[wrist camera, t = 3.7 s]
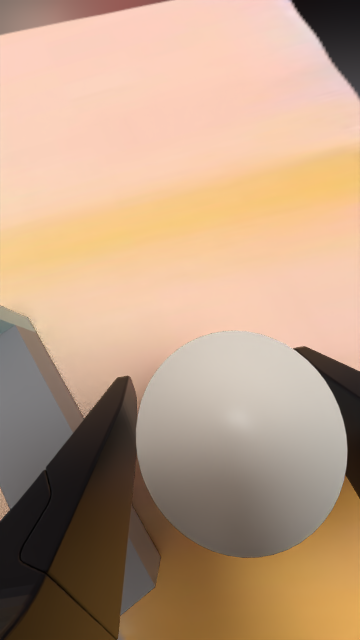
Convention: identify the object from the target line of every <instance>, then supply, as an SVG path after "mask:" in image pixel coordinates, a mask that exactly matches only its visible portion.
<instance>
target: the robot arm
mask: <svg viewBox="0 0 360 640" xmlns="http://www.w3.org/2000/svg"><path fill="white" fill-rule="evenodd" d="M293 349H294V350H295V351H297V352H298V353H299V354H300V355H301V356H303V357H304V358H305V359H306V360H307V361H308V362H309V363H310V364H311V365H312V366H313V367H314V368H315V369H316V370H317V371H318V372H319V374H320V375H321V376H322V377H323V379H324V380H325V381H326V383H327V385H328V386H329V388H330V390H331V391H332V393H333V395H334V397H335V399H336V402H337V404H338V406H339V409H340V412H341V415H342V418H343V421H344V426H345V432H346V438H347V466H346V472H345V475H346V476H347V478H348V480H349V481H350V483H351V485H352V486H353V488H354V490H355V491H356V493H357V495H358V496H359V498H360V371H358V370H355V369H353V368H351V367H349V366H347V365H345V364H342V363H340V362H338V361H336V360H334V359H332V358H329V357H327V356H325V355H323V354H321V353H319V352H316V351H314V350H312V349H310V348H308V347H305V346H303V347H297V348H293ZM136 425H137V397H136V392H135V389H134V386H133V383H132V380H131V378H130V376H123V377H118V378H117V379H116V380H115V381H114V382H113V384H112V385H111V386H110V387H109V389H108V390H107V391H106V392H105V394H104V395H103V396H102V397H101V399H100V400H99V401H98V402H97V404H96V405H95V406H94V407H93V409H92V410H91V411H90V412H89V414H88V415H87V416H86V417H85V419H84V420H83V421H82V422H81V424H80V425H79V426H78V427H77V429H76V430H75V431H74V432H73V434H72V435H71V436H70V437H69V439H68V440H67V441H66V442H65V444H64V445H63V446H62V447H61V449H60V450H59V451H58V452H57V454H56V455H55V456H54V457H53V459H52V460H51V461H50V462H49V464H48V465H47V466H46V468H45V469H46V470H43V471H42V472H41V473H40V475H39V476H38V477H37V478H36V480H35V481H34V482H33V483H32V485H31V486H30V487H29V488H28V489H27V491H26V492H25V493H24V494H23V495H22V497H21V498H20V499H19V500H18V501H17V503H16V504H15V505H14V506H13V507H12V508H11V509H10V510H9V512H8V513H7V514H6V515H5V516H4V517H3V518H2V519H1V521H0V640H117V639H118V633H119V623H120V613H121V603H122V593H123V583H124V574H125V564H126V554H127V544H128V534H129V524H130V514H131V504H132V494H133V484H134V474H135V464H136V454H137V448H136Z"/></svg>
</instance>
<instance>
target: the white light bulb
mask: <svg viewBox="0 0 360 640" xmlns="http://www.w3.org/2000/svg"><path fill="white" fill-rule="evenodd" d="M136 448H137V456H138V461H139V466H140V470H141V474H142V476H143V479H144V482H145V484H146V487H147V489H148V491H149V493H150V495H151V497H152V499H153V500H154V502H155V504H156V505H157V506H158V508H159V509H160V511H161V512H162V514H163V515H164V516H165V517H166V518H167V519H168V520H169V522H170V523H171V524H172V525H173V526H174V527H175V528H176V529H178V530H179V531H180V532H181V533H182V534H183V535H185V536H186V537H187V538H189V539H191V540H192V541H194V542H195V543H197V544H198V545H200V546H203V547H205V548H207V549H209V550H211V551H214V552H217V553H221V554H224V555H228V556H235V557H242V558H251V557H263V556H269V555H274V554H277V553H279V552H282V551H285V550H288V549H290V548H292V547H293V546H295V545H297V544H299V543H301V542H302V541H303V540H305V539H306V538H307V537H309V536H310V535H311V534H312V533H314V532H315V530H316V529H317V528H318V527H319V526H320V525H321V524H322V523H323V522H324V521H325V519H326V518H327V516H328V515H329V513H330V512H331V510H332V509H333V507H334V505H335V503H336V501H337V499H338V497H339V494H340V491H341V488H342V485H343V482H344V477H345V472H346V466H347V438H346V432H345V426H344V421H343V418H342V415H341V412H340V409H339V406H338V404H337V402H336V399H335V397H334V395H333V393H332V391H331V390H330V388H329V386H328V385H327V383H326V381H325V380H324V379H323V377H322V376H321V375H320V374H319V372H318V371H317V370H316V369H315V368H314V367H313V366H312V365H311V364H310V363H309V362H308V361H307V360H306V359H305V358H304V357H303V356H301V355H300V354H299V353H298V352H297V351H295V350H294V349H292V348H290V347H289V346H287V345H286V344H284V343H282V342H280V341H277V340H275V339H273V338H270V337H267V336H265V335H262V334H257V333H252V332H246V331H222V332H217V333H211V334H208V335H205V336H202V337H199V338H197V339H195V340H193V341H190V342H188V343H187V344H185V345H184V346H182V347H180V348H179V349H177V350H176V351H175V352H174V353H173V354H172V355H170V356H169V357H168V358H167V359H166V360H165V361H164V362H163V364H162V365H161V366H160V367H159V368H158V370H157V371H156V372H155V374H154V375H153V377H152V378H151V380H150V382H149V384H148V386H147V388H146V390H145V393H144V395H143V398H142V400H141V404H140V408H139V412H138V417H137V425H136Z"/></svg>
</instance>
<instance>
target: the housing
mask: <svg viewBox="0 0 360 640" xmlns="http://www.w3.org/2000/svg"><path fill="white" fill-rule="evenodd" d="M83 420H84V418H83V416H82V414H81V412H80V411H79V409H78V407H77V405H76V403H75V401H74V400H73V398H72V396H71V394H70V392H69V391H68V389H67V387H66V385H65V383H64V382H63V380H62V378H61V376H60V374H59V373H58V371H57V369H56V367H55V365H54V364H53V362H52V360H51V358H50V356H49V355H48V353H47V351H46V349H45V347H44V346H43V344H42V342H41V340H40V338H39V337H38V335H37V333H36V331H35V329H34V328H33V326H32V324H31V322H30V320H29V319H28V317H25V316H23V315H21V314H19V313H16V312H14V311H12V310H10V309H7V308H5V307H3V306H1V305H0V487H1V490H2V492H3V494H4V497H5V499H6V501H7V504H8V506H9V508H10V509H11V508H12V507H13V506H14V505H15V504H16V503H17V501H18V500H19V499H20V498H21V497H22V495H23V494H24V493H25V492H26V491H27V489H28V488H29V487H30V486H31V485H32V483H33V482H34V481H35V480H36V478H37V477H38V476H39V475H40V473H41V472H42V471H43V470H46V469H45V468H46V466H47V465H48V464H49V462H50V461H51V460H52V459H53V457H54V456H55V455H56V454H57V452H58V451H59V450H60V449H61V447H62V446H63V445H64V444H65V442H66V441H67V440H68V439H69V437H70V436H71V435H72V434H73V432H74V431H75V430H76V429H77V427H78V426H79V425H80V424H81V422H82V421H83ZM160 559H161V557H160V555H159V553H158V551H157V549H156V548H155V546H154V544H153V542H152V540H151V539H150V537H149V535H148V533H147V531H146V529H145V528H144V526H143V524H142V522H141V520H140V519H139V517H138V515H137V513H136V511H135V510H134V508H133V506H132V504H131V514H130V524H129V534H128V544H127V554H126V564H125V574H124V583H123V593H122V603H121V613H120V616H121V615H122V614H123V613H124V612H126V611H127V610H128V609H129V608H130V607H132V606H133V605H134V604H135V603H136V602H138V601H139V600H140V599H141V598H142V597H144V596H145V595H146V594H147V593H149V592H150V591H151V590H152V589H153V588H155V586H156V581H157V576H158V570H159V565H160Z"/></svg>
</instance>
